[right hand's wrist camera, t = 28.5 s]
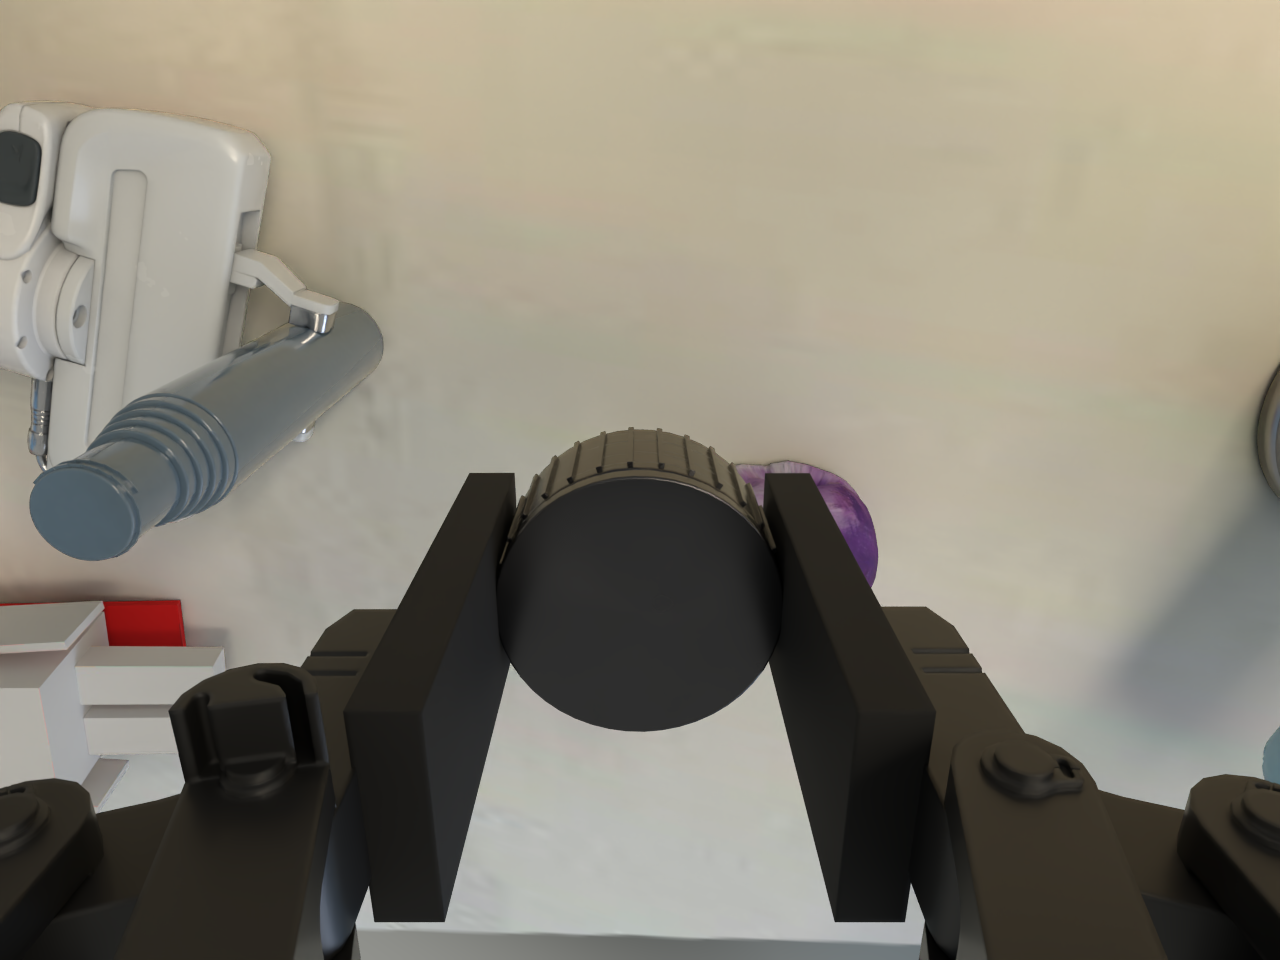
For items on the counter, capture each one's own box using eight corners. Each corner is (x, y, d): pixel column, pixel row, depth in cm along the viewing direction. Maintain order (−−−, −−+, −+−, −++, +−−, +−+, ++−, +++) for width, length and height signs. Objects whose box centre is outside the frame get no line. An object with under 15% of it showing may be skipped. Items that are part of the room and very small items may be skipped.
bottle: (400, 344, 49) (189, 520, 26) (348, 395, 50) (100, 609, 27) (339, 284, 48) (59, 413, 24) (287, 339, 49) (-29, 512, 25)
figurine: (673, 480, 52) (688, 602, 38) (835, 424, 51) (912, 528, 37) (722, 607, 55) (752, 762, 41) (875, 557, 54) (960, 700, 40)
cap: (657, 370, 13) (660, 409, 11) (818, 562, 15) (847, 630, 13) (457, 531, 14) (427, 594, 12) (623, 698, 16) (621, 781, 14)
